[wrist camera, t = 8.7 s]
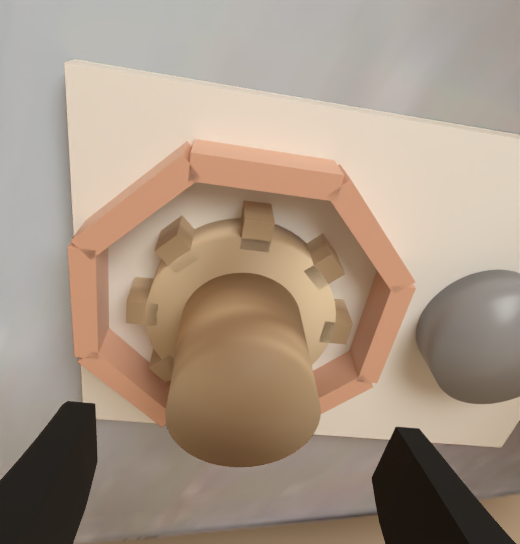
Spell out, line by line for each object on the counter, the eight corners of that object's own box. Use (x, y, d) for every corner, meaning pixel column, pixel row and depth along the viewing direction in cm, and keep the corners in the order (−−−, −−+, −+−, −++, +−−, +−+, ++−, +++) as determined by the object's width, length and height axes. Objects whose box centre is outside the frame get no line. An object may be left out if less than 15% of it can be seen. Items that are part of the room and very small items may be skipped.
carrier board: (662, 158, 15) (743, 186, 13) (490, 430, 22) (522, 481, 20) (76, 59, 13) (38, 69, 10) (90, 400, 20) (69, 454, 17)
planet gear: (369, 217, 15) (434, 314, 10) (317, 382, 18) (346, 510, 14) (137, 185, 14) (86, 276, 9) (133, 366, 17) (95, 498, 13)
